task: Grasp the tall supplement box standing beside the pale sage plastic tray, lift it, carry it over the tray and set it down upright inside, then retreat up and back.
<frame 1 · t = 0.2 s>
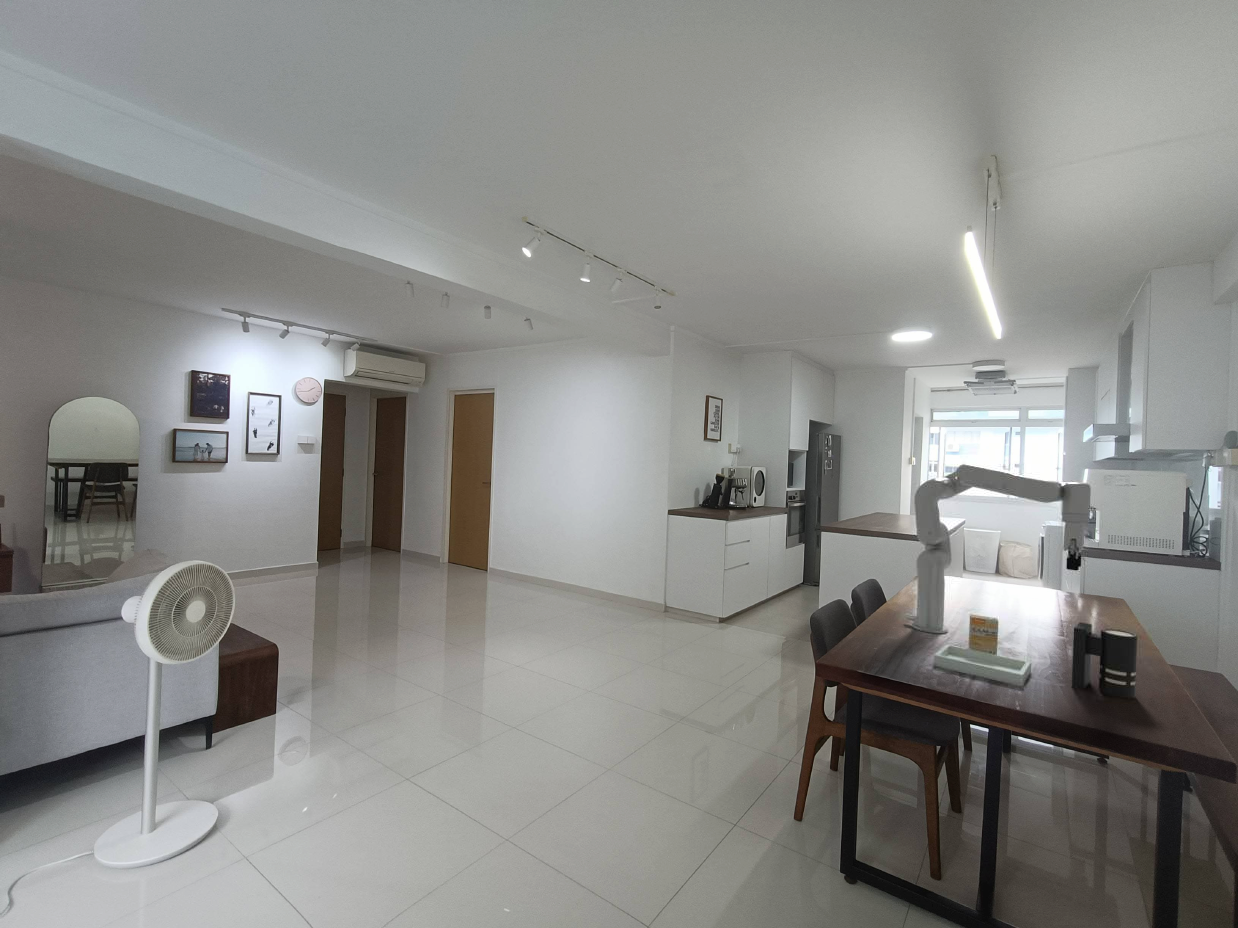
hand: (1073, 567, 202), 31 cm above the table, tool pointing down, fingers open, 9 cm apart
supplement box: (982, 655, 203), on the table
outdoor wall sconce: (1104, 690, 173), on the table
tray: (981, 669, 189), on the table
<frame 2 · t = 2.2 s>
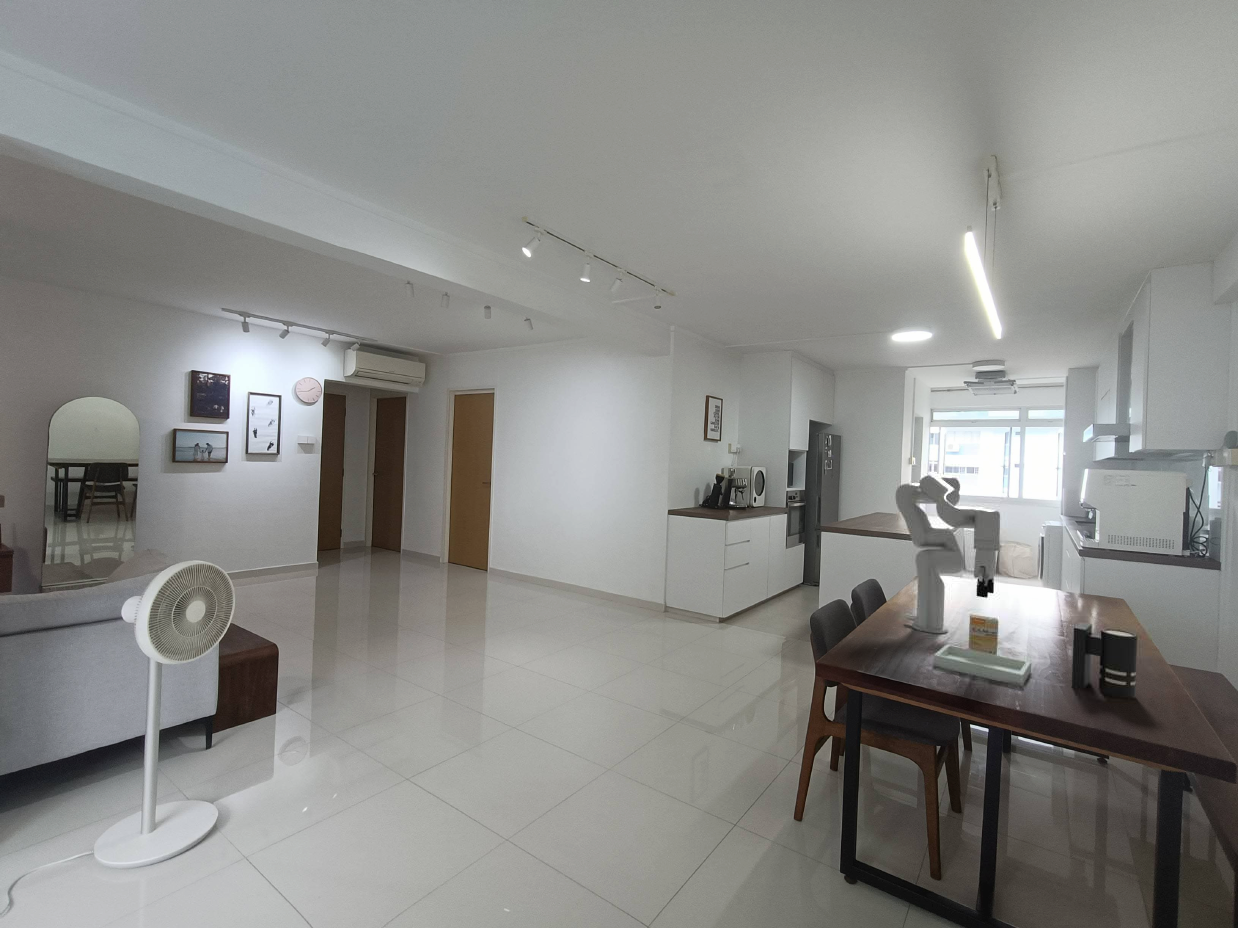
hand: (985, 594, 203), 21 cm above the table, tool pointing down, fingers open, 9 cm apart
nothing on the table moved.
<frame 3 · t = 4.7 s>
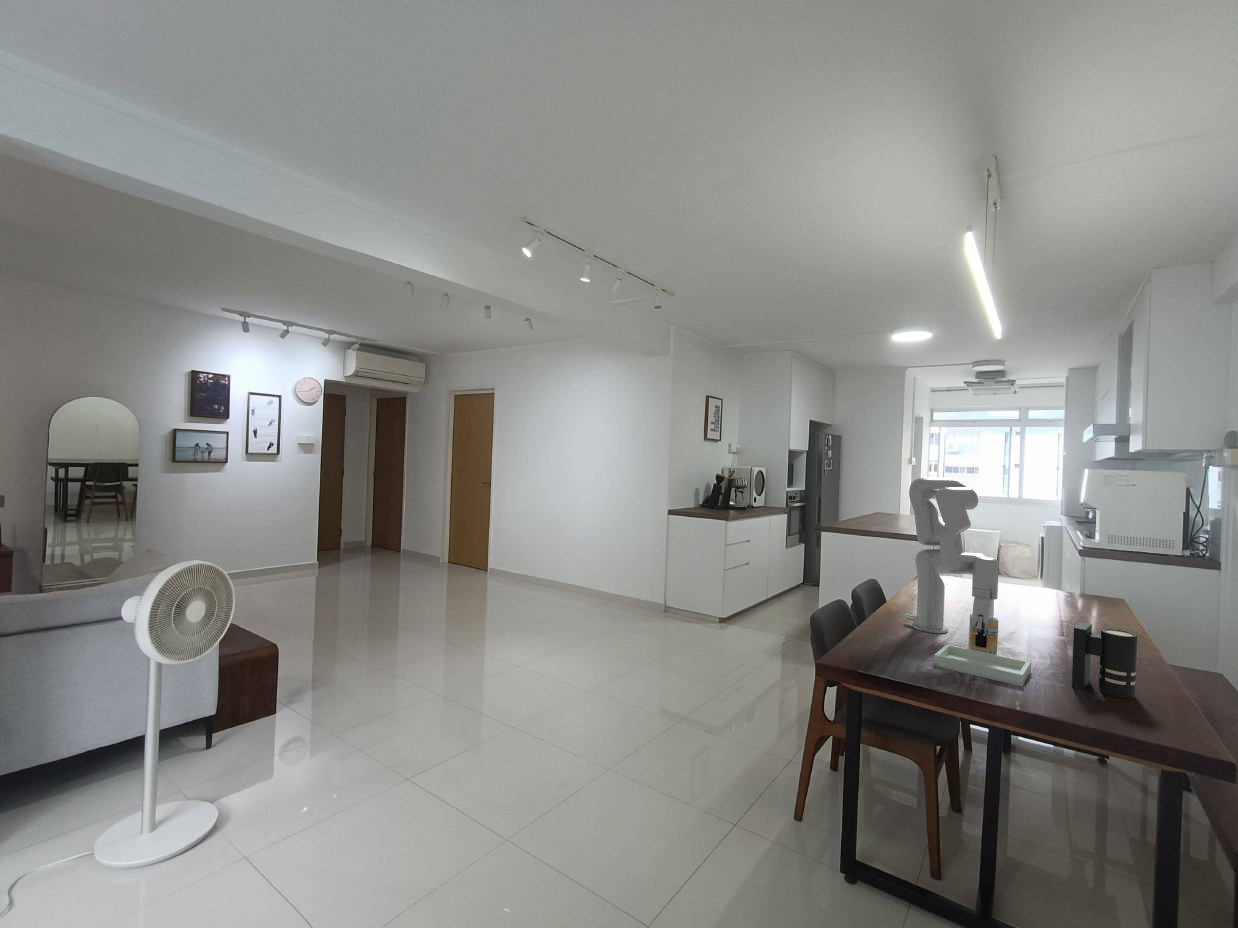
hand: (982, 644, 203), 4 cm above the table, tool pointing down, fingers closed on supplement box, 5 cm apart
supplement box: (982, 654, 203), on the table, touching gripper
everything else where it was.
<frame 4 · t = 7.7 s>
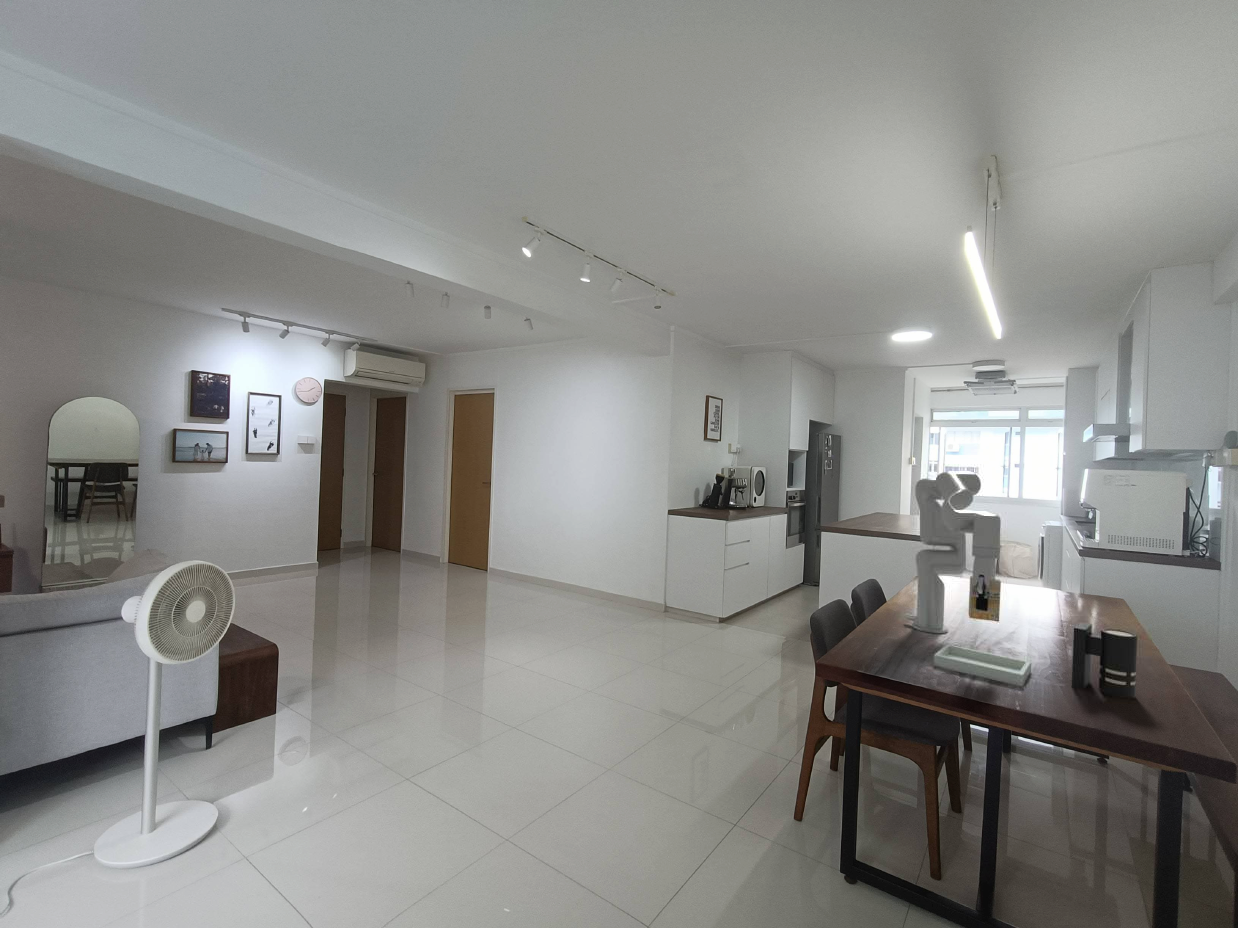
hand: (983, 607, 189), 20 cm above the table, tool pointing down, fingers closed on supplement box, 5 cm apart
supplement box: (983, 619, 189), point 16 cm above the table, touching gripper
everything else where it was.
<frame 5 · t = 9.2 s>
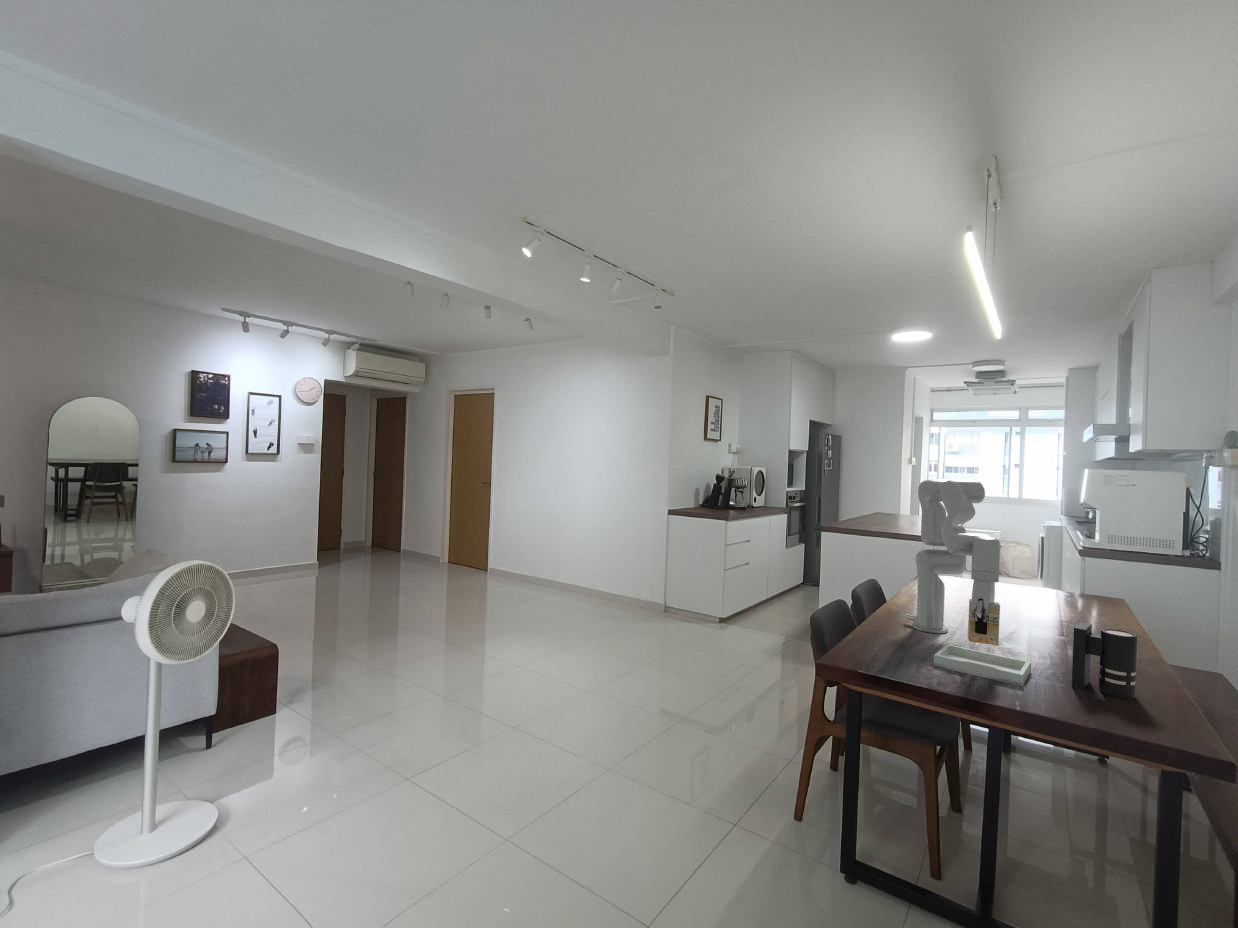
hand: (983, 631, 188), 12 cm above the table, tool pointing down, fingers closed on supplement box, 5 cm apart
supplement box: (982, 642, 188), point 9 cm above the table, touching gripper
everything else where it was.
when the fingers open (6 cm above the table, at t = 10.8 s): supplement box drops 1 cm, resting on tray.
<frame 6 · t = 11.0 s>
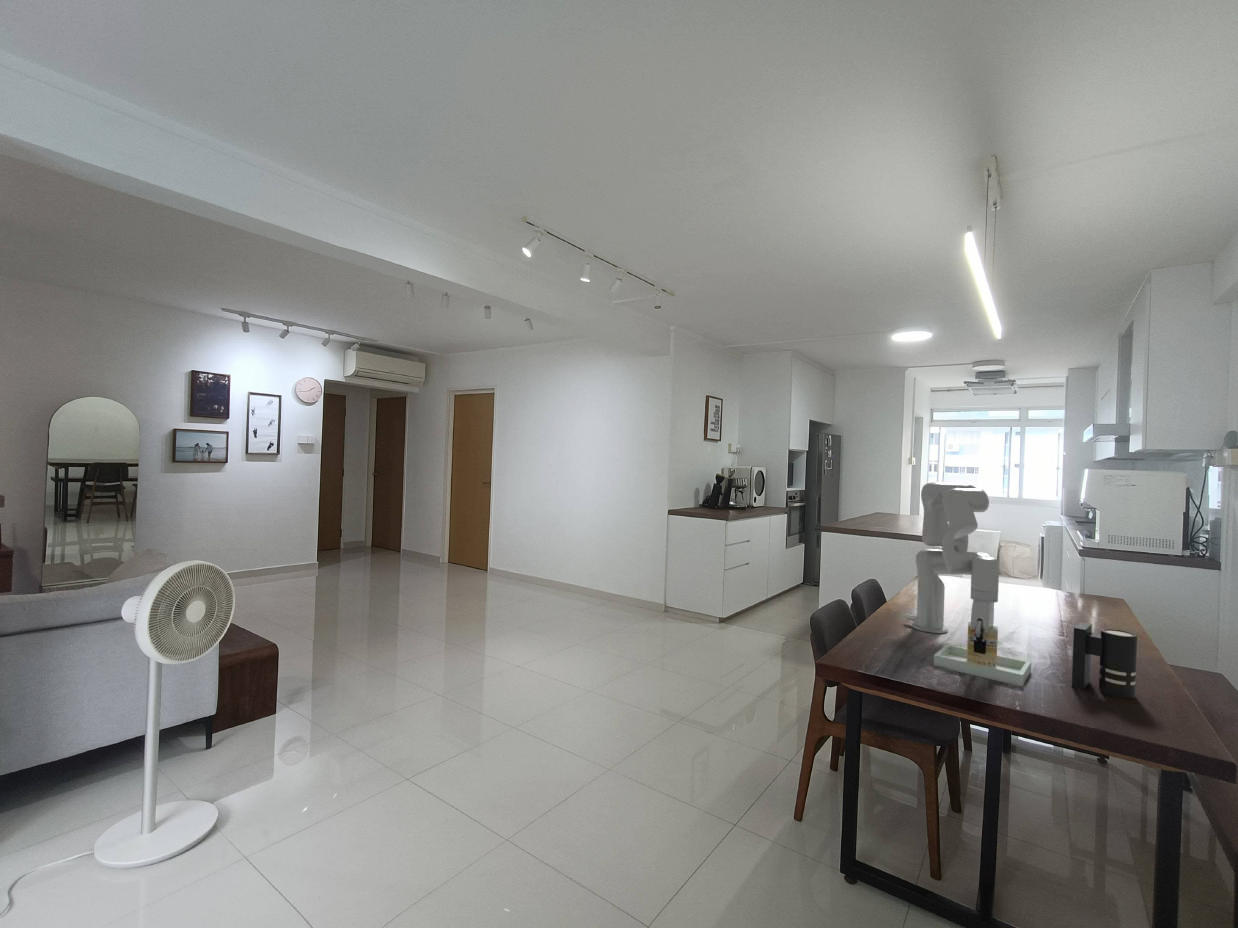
hand: (982, 649, 189), 6 cm above the table, tool pointing down, fingers open, 7 cm apart
supplement box: (981, 666, 189), point 1 cm above the table, touching tray
everything else where it was.
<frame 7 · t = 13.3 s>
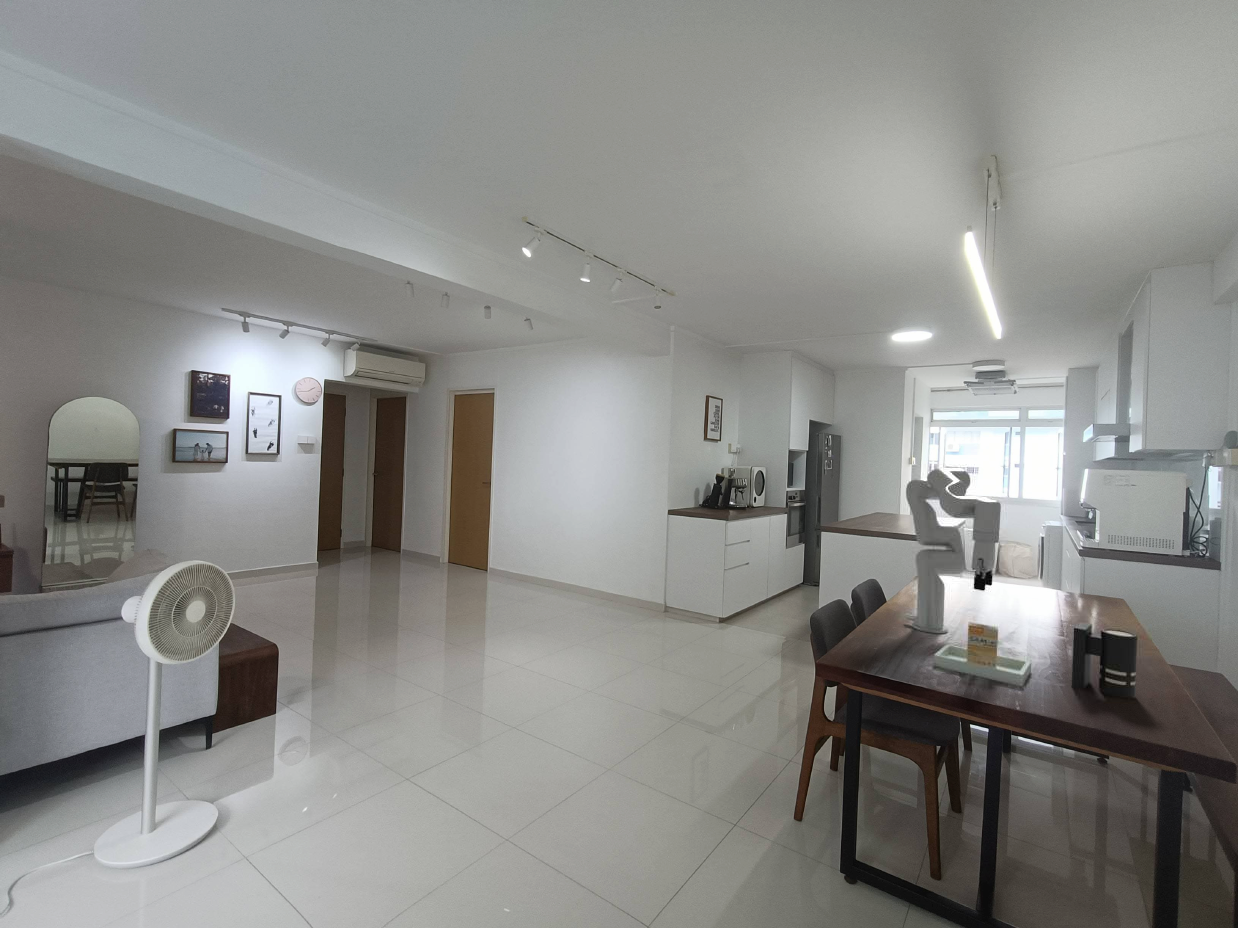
hand: (982, 587, 197), 25 cm above the table, tool pointing down, fingers open, 9 cm apart
nothing on the table moved.
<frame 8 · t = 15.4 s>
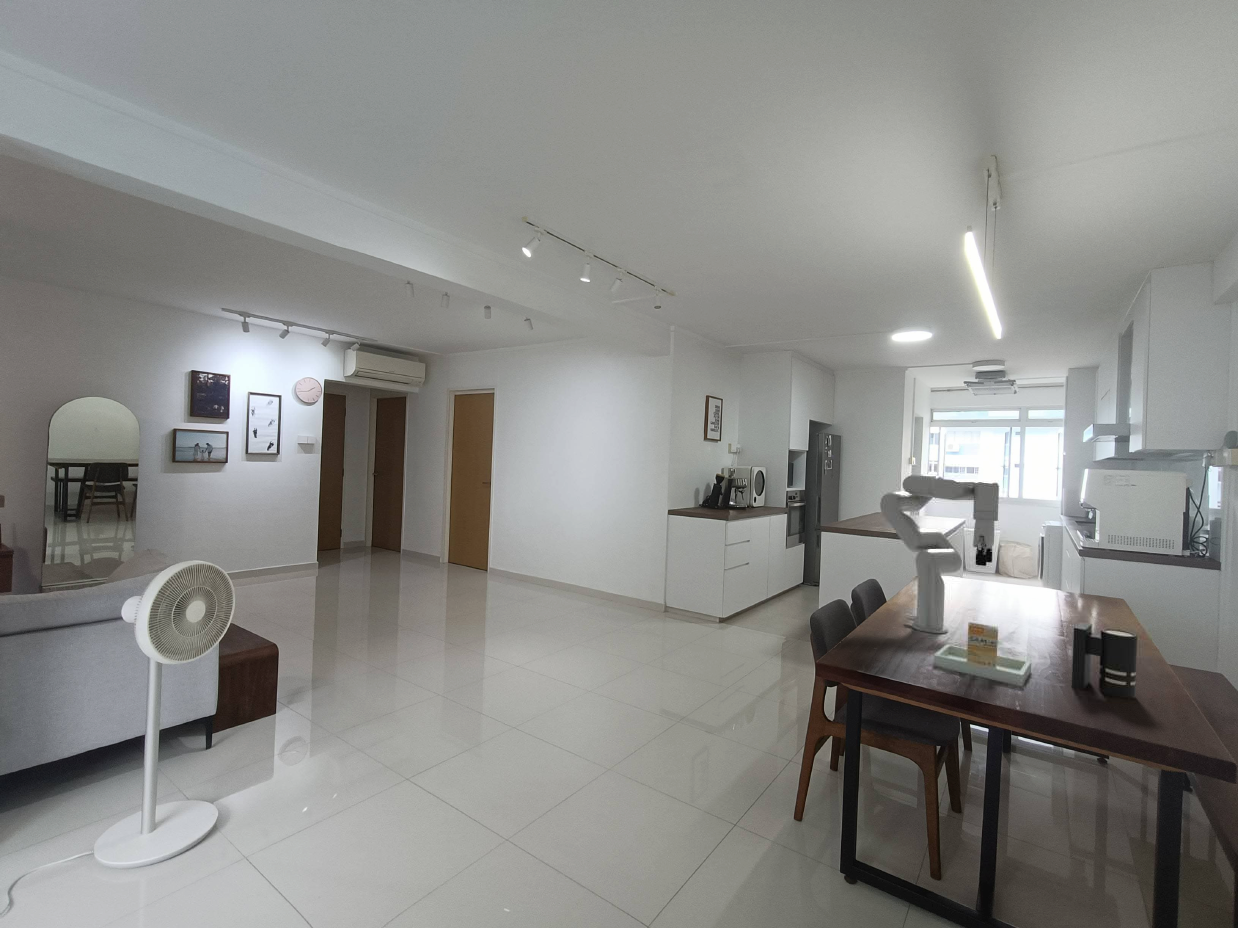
hand: (983, 563, 210), 30 cm above the table, tool pointing down, fingers open, 9 cm apart
nothing on the table moved.
at the end: supplement box inside the target area on the tray (0.1 cm from its centre), point 0.8 cm above the tray's base; supplement box tilted 0°; the gripper is holding nothing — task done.
